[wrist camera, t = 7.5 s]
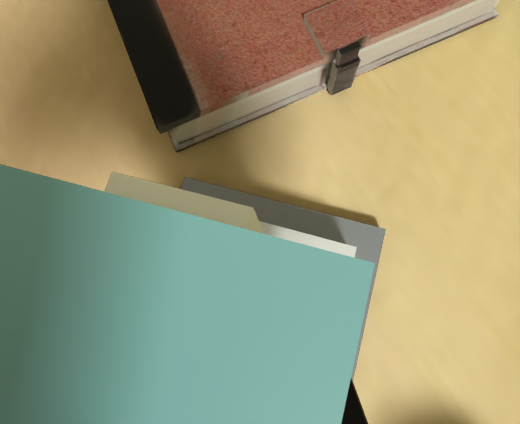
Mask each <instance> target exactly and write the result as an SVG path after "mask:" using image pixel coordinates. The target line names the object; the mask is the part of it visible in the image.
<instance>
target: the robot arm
mask: <svg viewBox="0 0 520 424" xmlns="http://www.w3.org/2000/svg"><path fill="white" fill-rule="evenodd" d="M341 424H368V422H367V419H366V416H365V414H364V411H363V408H362V405H361V403H360V400H359V397H358V395H357V392H356V389H355V386H354V384H353V381H352V378H351V380H350V384H349V389H348V394H347V399H346V404H345V408H344V413H343V418H342V423H341Z"/></svg>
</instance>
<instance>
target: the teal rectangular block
mask: <svg viewBox="0 0 520 424" xmlns="http://www.w3.org/2000/svg"><path fill="white" fill-rule="evenodd" d="M374 265H375V263H373V262H369V261H365V260H361V259H357V258H354V257H350V256H346V255H342V254H338V253H335V252H331V251H327V250H323V249H319V248H316V247H312V246H308V245H304V244H301V243H297V242H293V241H289V240H285V239H282V238H278V237H274V236H270V235H266V234H264V233H263V230H262V228H261V225H260V223H259V220H258V218H257V215H256V213H255V210H254V208H253V207H249V206H245V205H241V204H237V203H233V202H229V201H225V200H222V199H218V198H214V197H210V196H206V195H202V194H198V193H194V192H190V191H186V190H182V189H179V188H175V187H171V186H167V185H163V184H159V183H155V182H151V181H147V180H143V179H139V178H135V177H132V176H128V175H124V174H120V173H116V172H111V175H110V178H109V181H108V183H107V186H106V189H105V192H103V191H100V190H96V189H92V188H88V187H84V186H81V185H77V184H73V183H69V182H65V181H62V180H58V179H54V178H50V177H46V176H43V175H39V174H35V173H31V172H27V171H24V170H20V169H16V168H12V167H9V166H5V165H1V164H0V424H341V423H342V418H343V413H344V408H345V404H346V399H347V394H348V389H349V384H350V380H351V375H352V370H353V365H354V361H355V356H356V351H357V346H358V342H359V337H360V332H361V327H362V322H363V318H364V313H365V308H366V303H367V299H368V294H369V289H370V284H371V279H372V275H373V270H374Z"/></svg>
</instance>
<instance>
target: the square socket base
mask: <svg viewBox="0 0 520 424" xmlns="http://www.w3.org/2000/svg"><path fill="white" fill-rule="evenodd" d="M181 189H182V190H186V191H190V192H194V193H198V194H202V195H206V196H210V197H214V198H218V199H222V200H225V201H229V202H233V203H237V204H241V205H245V206H249V207H253V208H254V210H255V213H256V215H257V218H258V220H259V223H260V225H261V228H262V230H263V233H264V234H266V235H270V236H274V237H278V238H282V239H285V240H289V241H293V242H297V243H301V244H304V245H308V246H312V247H316V248H319V249H323V250H327V251H331V252H335V253H338V254H342V255H346V256H350V257H354V258H357V259H361V260H365V261H369V262H373V263H375V265H374V270H373V275H372V279H371V284H370V289H369V294H368V299H367V303H366V308H365V313H364V318H363V322H362V327H361V332H360V337H359V342H358V346H357V351H356V356H355V361H354V365H353V370H352V375H351V378H352V381H353V378H354V373H355V368H356V364H357V359H358V354H359V350H360V345H361V341H362V336H363V331H364V327H365V322H366V318H367V313H368V308H369V304H370V299H371V295H372V290H373V285H374V281H375V276H376V271H377V267H378V262H379V258H380V253H381V248H382V244H383V239H384V235H385V230H386V229H384V228H380V227H376V226H372V225H368V224H364V223H360V222H357V221H353V220H349V219H345V218H341V217H337V216H333V215H330V214H326V213H322V212H318V211H314V210H310V209H306V208H303V207H299V206H295V205H291V204H287V203H283V202H279V201H276V200H272V199H268V198H264V197H260V196H256V195H252V194H249V193H245V192H241V191H237V190H233V189H229V188H225V187H222V186H218V185H214V184H210V183H206V182H202V181H198V180H195V179H191V178H187V177H185V178H184V181H183V184H182V187H181Z"/></svg>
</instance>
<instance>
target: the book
mask: <svg viewBox="0 0 520 424" xmlns="http://www.w3.org/2000/svg"><path fill="white" fill-rule="evenodd" d="M499 1H500V0H108V3H109V6H110V8H111V11H112V13H113V16H114V19H115V21H116V24H117V26H118V29H119V32H120V34H121V37H122V39H123V42H124V45H125V47H126V50H127V52H128V55H129V58H130V60H131V63H132V65H133V68H134V71H135V73H136V76H137V78H138V81H139V84H140V86H141V89H142V91H143V94H144V97H145V99H146V102H147V104H148V107H149V110H150V112H151V115H152V117H153V120H154V123H155V125H156V128H157V130H158V131H159V132H160V133H163V132H166V131H168V133H169V135H170V138H171V140H172V143H173V145H174V148H175V150H176V152H179V151H182V150H184V149H186V148H189V147H191V146H194V145H196V144H198V143H201V142H203V141H205V140H208V139H210V138H212V137H215V136H217V135H220V134H222V133H224V132H227V131H229V130H231V129H234V128H236V127H238V126H241V125H243V124H246V123H248V122H250V121H253V120H255V119H257V118H260V117H262V116H265V115H267V114H269V113H272V112H274V111H276V110H279V109H281V108H283V107H286V106H288V105H291V104H293V103H295V102H298V101H300V100H302V99H305V98H307V97H309V96H312V95H314V94H317V93H319V92H321V91H324V90H326V89H328V91H329V93H330V95H333V94H335V93H338V92H340V91H342V90H345V89H347V88H349V87H351V86H352V83H353V80H354V77H357V76H359V75H361V74H364V73H366V72H369V71H371V70H373V69H376V68H378V67H380V66H383V65H385V64H387V63H390V62H392V61H395V60H397V59H399V58H402V57H404V56H406V55H409V54H411V53H413V52H416V51H418V50H421V49H423V48H425V47H428V46H430V45H432V44H435V43H437V42H440V41H442V40H444V39H447V38H449V37H451V36H454V35H456V34H458V33H461V32H463V31H466V30H468V29H470V28H473V27H475V26H477V25H480V24H482V23H484V22H487V21H489V20H492V19H494V18H496V17H497V16H498V15H499V14H498V13H497V11H496V10H495V8H494V7H495V6H496V5H497V4H498V2H499Z"/></svg>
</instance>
